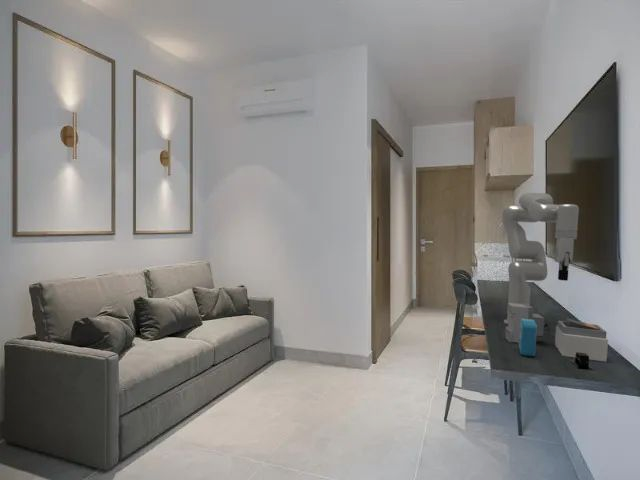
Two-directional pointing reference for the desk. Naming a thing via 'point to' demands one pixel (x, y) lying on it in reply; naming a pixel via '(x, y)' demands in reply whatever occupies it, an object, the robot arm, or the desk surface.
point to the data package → (527, 337)
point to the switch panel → (581, 341)
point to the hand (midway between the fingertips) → (562, 280)
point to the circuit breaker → (515, 317)
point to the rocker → (580, 324)
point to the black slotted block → (581, 361)
